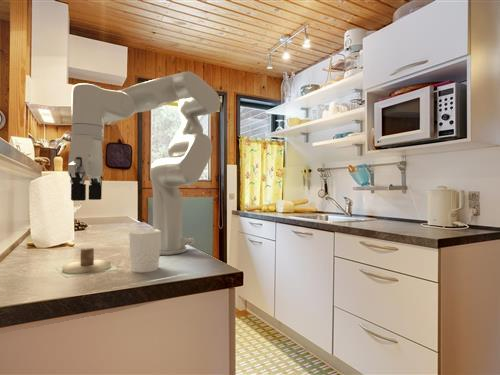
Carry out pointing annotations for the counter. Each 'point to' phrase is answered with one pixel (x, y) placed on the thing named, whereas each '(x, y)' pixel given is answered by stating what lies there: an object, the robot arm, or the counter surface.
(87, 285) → the counter surface
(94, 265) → the lid
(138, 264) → the white cup
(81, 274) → the mat
